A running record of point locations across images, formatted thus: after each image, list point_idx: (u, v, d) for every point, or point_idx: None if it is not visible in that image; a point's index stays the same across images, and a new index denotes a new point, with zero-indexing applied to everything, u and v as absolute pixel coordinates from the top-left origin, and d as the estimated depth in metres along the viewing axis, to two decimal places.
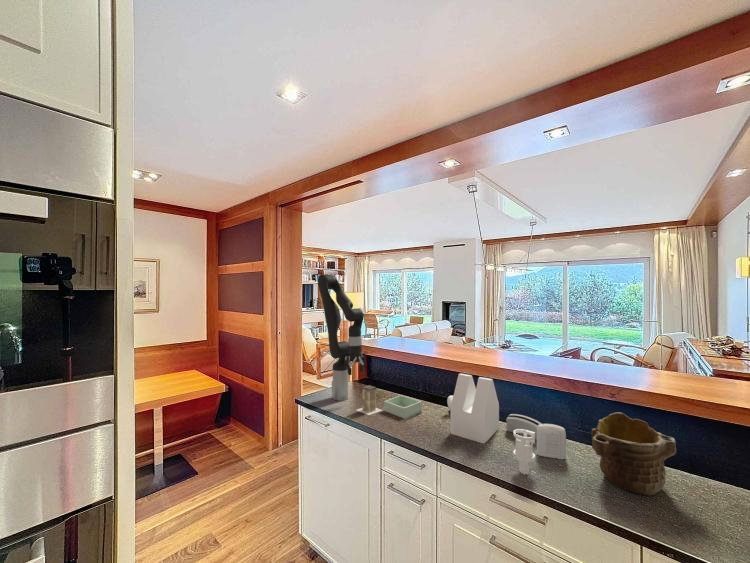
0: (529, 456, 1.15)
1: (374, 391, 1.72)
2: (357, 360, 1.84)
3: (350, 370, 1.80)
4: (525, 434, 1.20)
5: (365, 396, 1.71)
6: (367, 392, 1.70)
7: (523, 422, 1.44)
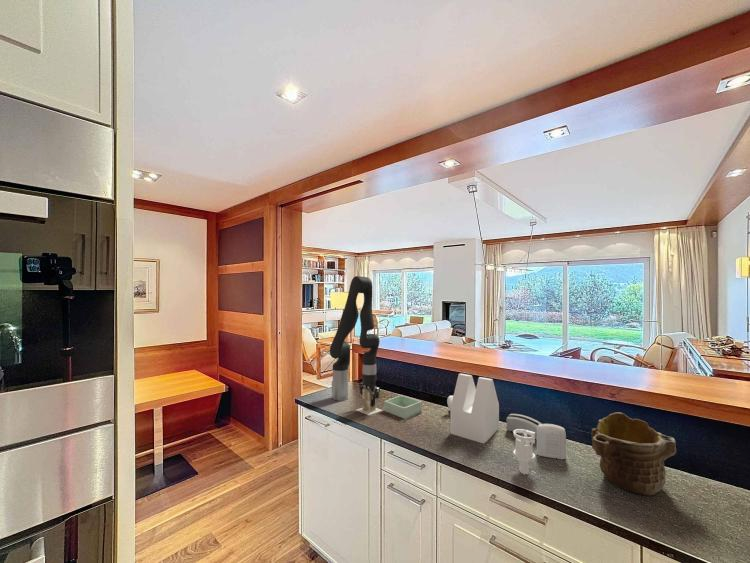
0: (529, 456, 1.15)
1: None
2: None
3: None
4: (525, 434, 1.20)
5: (365, 396, 1.71)
6: (367, 392, 1.70)
7: (523, 422, 1.44)
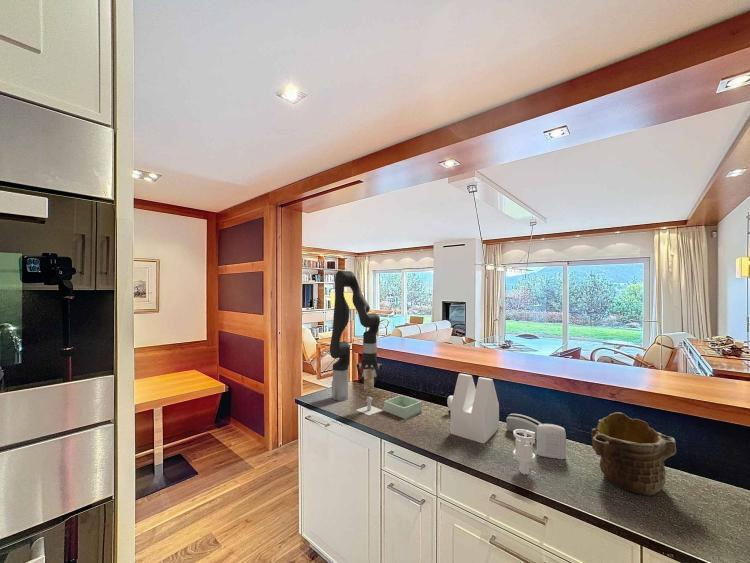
0: (529, 456, 1.15)
1: None
2: None
3: None
4: (525, 434, 1.20)
5: (368, 375, 1.70)
6: (371, 371, 1.70)
7: (523, 422, 1.44)
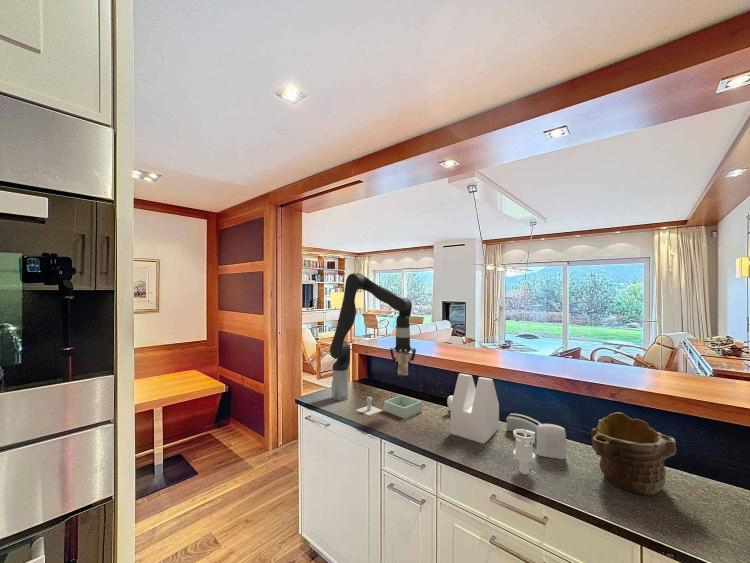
0: (529, 456, 1.15)
1: None
2: None
3: None
4: (525, 434, 1.20)
5: (402, 360, 1.69)
6: (405, 355, 1.69)
7: (522, 422, 1.44)
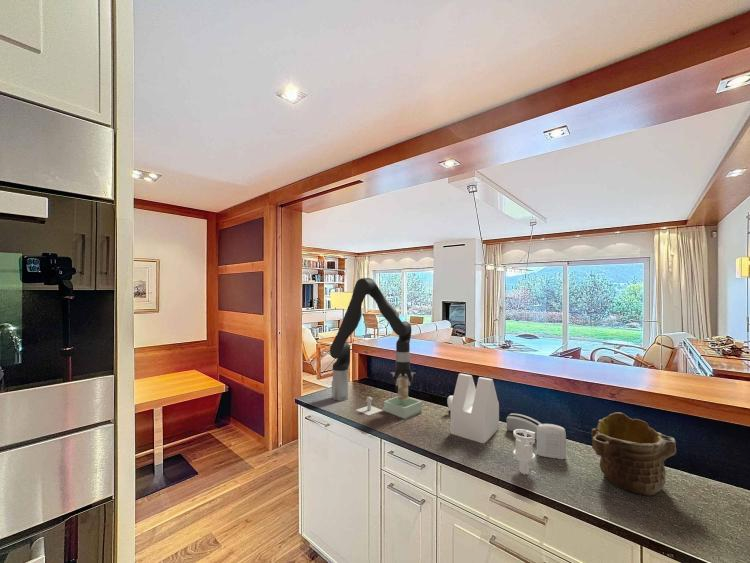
0: (529, 456, 1.15)
1: None
2: None
3: None
4: (525, 434, 1.20)
5: (402, 384, 1.69)
6: (405, 379, 1.69)
7: (522, 421, 1.44)
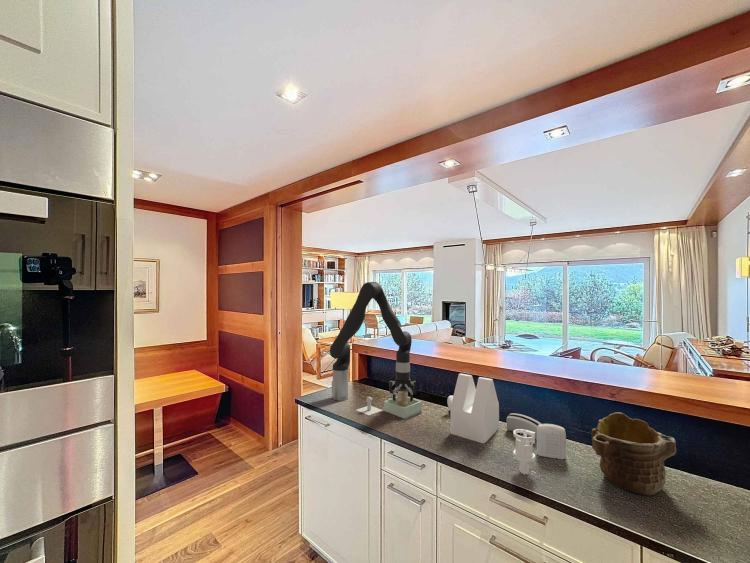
0: (529, 456, 1.15)
1: None
2: None
3: None
4: (525, 434, 1.20)
5: (402, 397, 1.69)
6: (405, 393, 1.69)
7: (522, 421, 1.44)
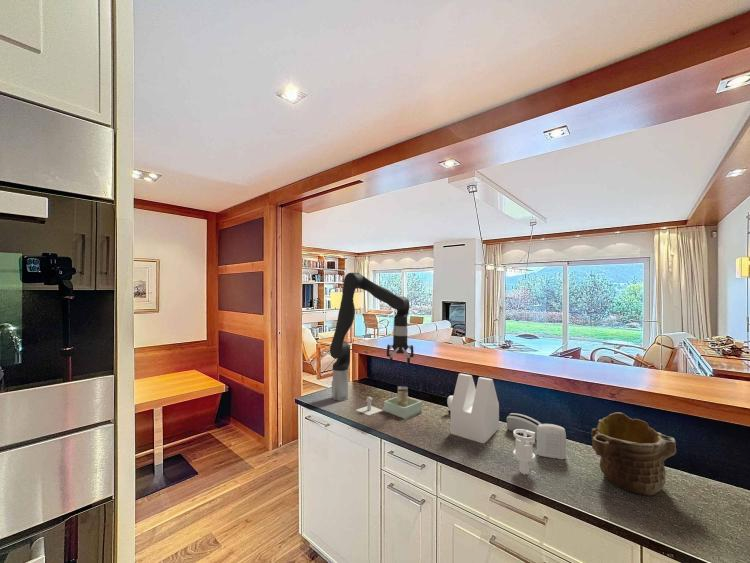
0: (529, 456, 1.15)
1: None
2: None
3: None
4: (525, 434, 1.20)
5: (402, 397, 1.69)
6: (405, 393, 1.69)
7: (522, 421, 1.44)
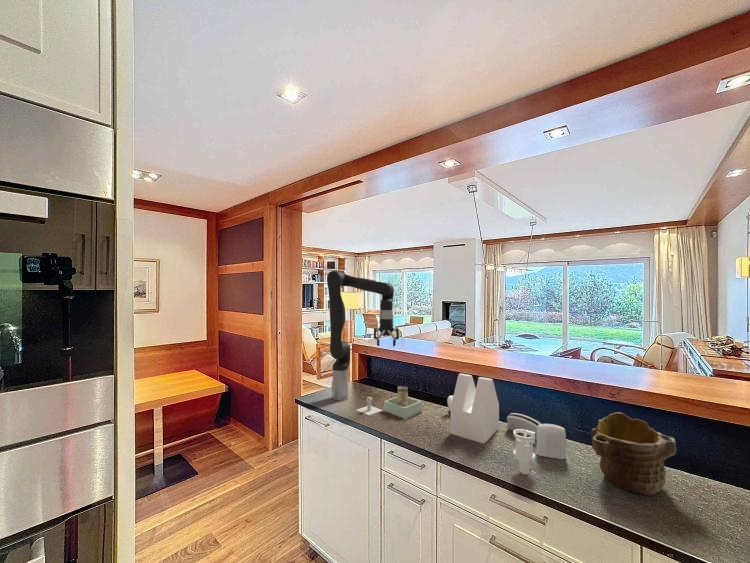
0: (529, 456, 1.15)
1: None
2: None
3: None
4: (525, 434, 1.20)
5: (402, 397, 1.69)
6: (405, 393, 1.69)
7: (522, 421, 1.45)
